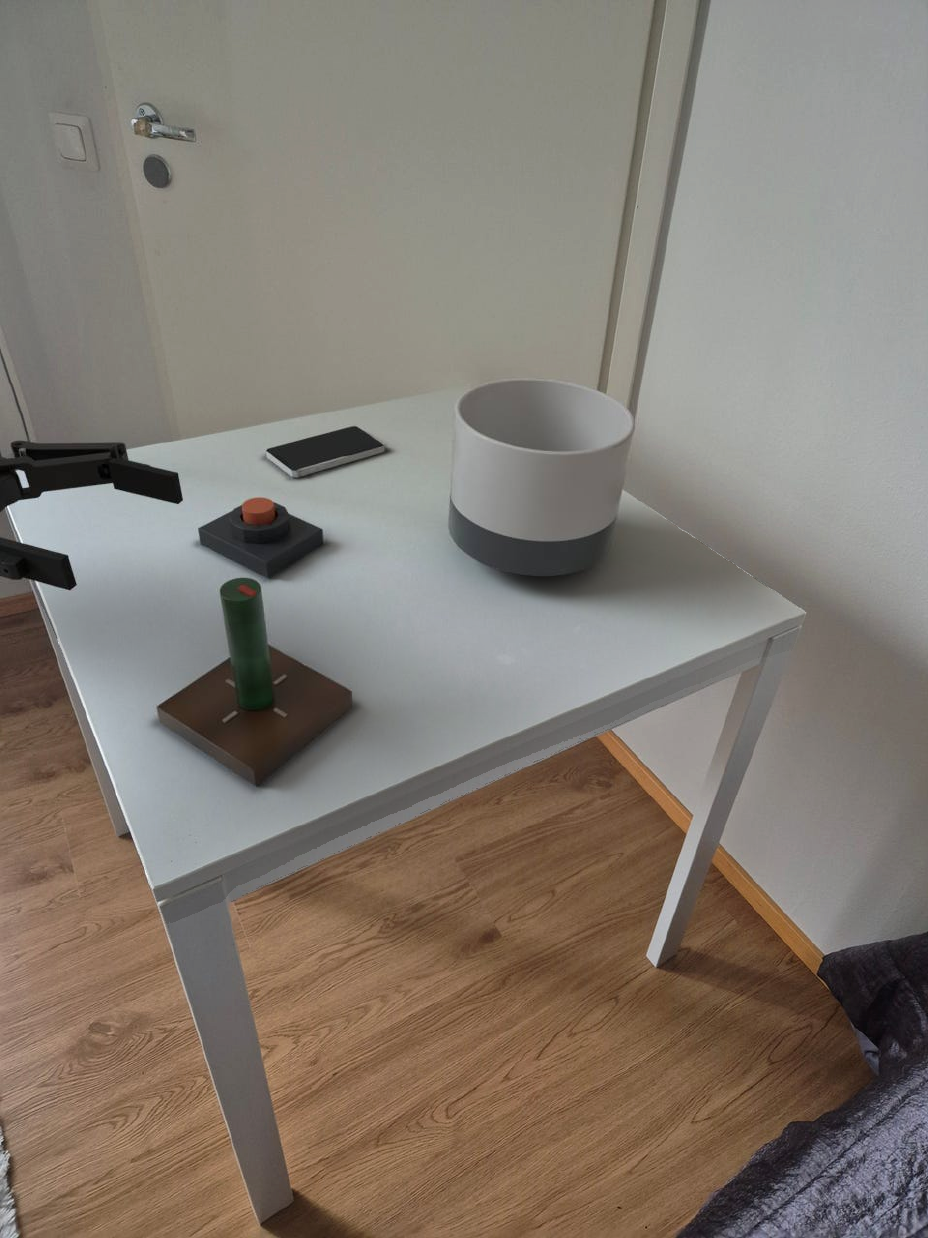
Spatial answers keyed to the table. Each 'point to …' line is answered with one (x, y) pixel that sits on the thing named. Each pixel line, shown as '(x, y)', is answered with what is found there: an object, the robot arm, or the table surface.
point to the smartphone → (324, 451)
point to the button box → (262, 540)
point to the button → (258, 511)
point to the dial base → (255, 716)
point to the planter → (537, 474)
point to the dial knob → (247, 642)
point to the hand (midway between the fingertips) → (128, 527)
